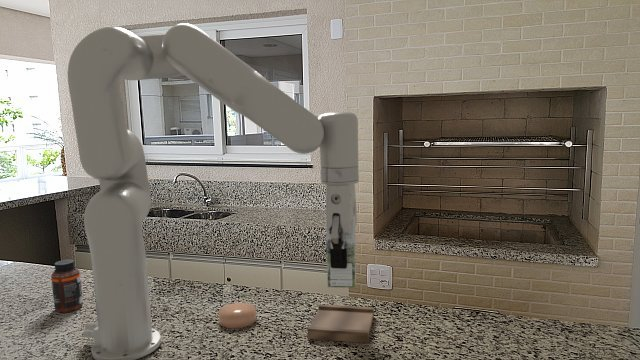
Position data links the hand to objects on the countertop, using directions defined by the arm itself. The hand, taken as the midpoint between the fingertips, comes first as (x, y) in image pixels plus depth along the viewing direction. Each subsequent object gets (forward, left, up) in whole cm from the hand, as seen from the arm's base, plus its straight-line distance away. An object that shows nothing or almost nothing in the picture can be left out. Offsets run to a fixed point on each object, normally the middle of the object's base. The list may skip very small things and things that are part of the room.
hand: (341, 261), depth 98 cm
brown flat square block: (0, 0, -14) cm, 14 cm away
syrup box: (0, 0, -5) cm, 5 cm away
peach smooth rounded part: (-23, 0, -14) cm, 27 cm away
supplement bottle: (-65, 0, -14) cm, 67 cm away
